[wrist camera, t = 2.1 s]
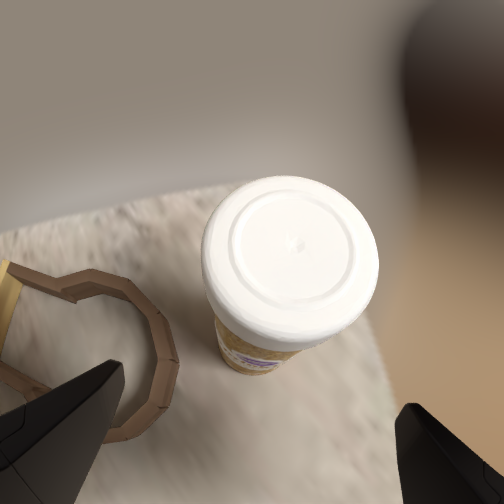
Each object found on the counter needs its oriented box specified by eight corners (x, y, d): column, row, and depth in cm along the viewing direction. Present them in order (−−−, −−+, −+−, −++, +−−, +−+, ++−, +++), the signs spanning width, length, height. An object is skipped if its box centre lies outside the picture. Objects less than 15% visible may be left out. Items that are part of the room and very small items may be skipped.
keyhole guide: (156, 462, 16) (147, 470, 14) (-13, 380, 16) (-33, 376, 14) (194, 306, 20) (190, 294, 18) (26, 257, 21) (10, 243, 18)
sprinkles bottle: (220, 377, 18) (199, 347, 6) (216, 307, 20) (199, 169, 8) (294, 372, 19) (401, 328, 7) (287, 303, 21) (361, 170, 9)
